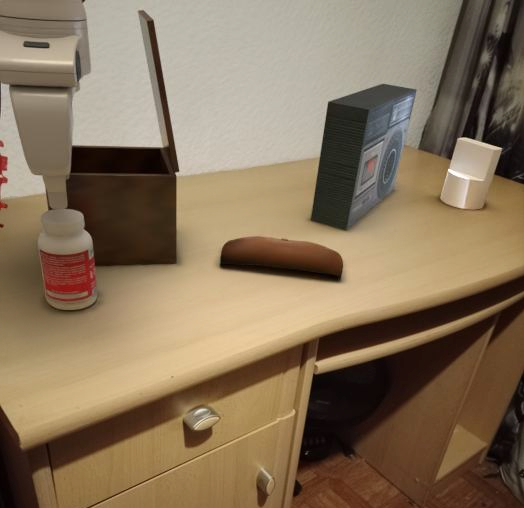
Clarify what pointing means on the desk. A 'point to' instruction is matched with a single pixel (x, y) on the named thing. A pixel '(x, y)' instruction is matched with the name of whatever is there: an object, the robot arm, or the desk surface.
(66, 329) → the desk surface
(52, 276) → the pill bottle
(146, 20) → the box lid
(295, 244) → the sunglasses case
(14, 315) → the desk surface
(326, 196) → the cassette player
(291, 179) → the desk surface
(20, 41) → the robot arm
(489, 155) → the base with upright slab
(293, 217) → the desk surface
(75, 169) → the box
